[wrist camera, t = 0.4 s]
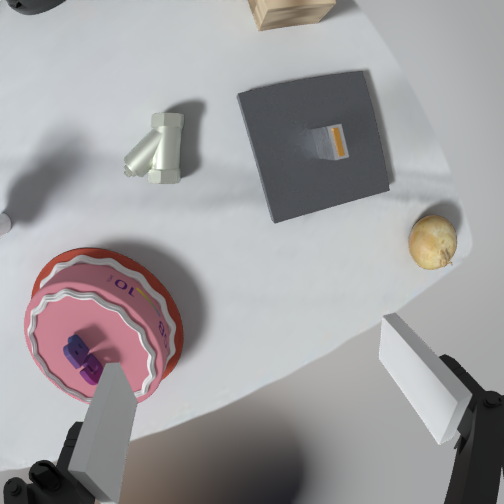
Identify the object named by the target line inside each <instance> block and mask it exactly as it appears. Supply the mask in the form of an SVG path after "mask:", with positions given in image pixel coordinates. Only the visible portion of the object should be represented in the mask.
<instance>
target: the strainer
mask: <svg viewBox="0 0 504 504" xmlns="http://www.w3.org/2000/svg"><path fill="white" fill-rule="evenodd" d="M10 229H11V221H10V218H9V217H8V216H7V215H6V214H4V213H2V214H0V237H1V236H2V235H4V234H6V233H8V232H9V231H10Z"/></svg>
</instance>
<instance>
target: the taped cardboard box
mask: <svg viewBox="0 0 504 504" xmlns="http://www.w3.org/2000/svg"><path fill="white" fill-rule="evenodd" d="M248 2H249V5H250V8H251V11H252V14H253V16H254V19H255V22H256V25H257V28H258V31H263V30H269V29H275V28H282V27H289V26H297V25H305V24H315V23H318V22H319V21H320V20H321V19H322V18H323V17H324V16H325V15H326V14H327V13H328V12H329V10H330V9H331V8H332V7H333V6H334V5H335V4H336V1H335V0H248Z"/></svg>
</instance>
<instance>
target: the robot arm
mask: <svg viewBox="0 0 504 504" xmlns="http://www.w3.org/2000/svg"><path fill="white" fill-rule="evenodd" d="M6 1H7V3H8V5H9V6H10V7H11V8H12V9H14V10H16V11H17V12H19V13H21V14H24V15H35V14H39V13H42V12H45V11H47V10H50V9H52V8H54V7H55V6H57V5H59V4H60V3H62V2H63V1H65V0H6ZM379 360H380V361H381V362H382V364H383V365H384V367H385V368H386V369H387V371H388V372H389V374H390V375H391V376H392V378H393V379H394V381H395V382H396V383H397V385H398V386H399V388H400V389H401V390H402V392H403V393H404V395H405V396H406V398H407V399H408V400H409V402H410V403H411V405H412V406H413V408H414V409H415V410H416V412H417V413H418V415H419V416H420V418H421V419H422V421H423V422H424V424H425V425H426V427H427V428H428V429H429V431H430V432H431V434H432V435H433V437H434V438H435V440H436V441H437V443H438V444H439V445H440V444H442V443H443V442H446V441H448V440H450V439H451V438H453V436H454V435H455V433H456V430H458V431H459V432H460V434H461V435H460V437H459V439H458V441H457V443H456V445H455V447H454V449H456V448H457V452H456V457H455V462H454V467H453V471H452V475H451V479H450V483H449V487H448V491H447V494H446V498H445V502H444V504H496V502H497V496H498V490H499V484H500V476H501V468H502V469H503V477H504V395H502V396H501V395H500V394H499V393H497V392H494V391H485V390H484V389H483V388H482V387H481V386H480V385H479V384H478V383H477V382H476V381H475V380H474V379H473V378H472V377H471V375H470V374H469V373H468V372H466V370H465V369H464V368H463V367H461V365H460V364H459V363H458V362H457V361H456V360H455V359H454V358H452V357H450V356H448V355H445V354H444V355H442V356H440V357H438V356H437V355H436V354H435V353H434V352H433V351H432V350H431V349H430V348H429V347H428V346H427V345H426V343H425V342H424V341H423V340H422V339H421V338H420V337H419V336H418V335H417V334H416V333H415V332H414V331H413V330H412V329H411V328H410V327H409V326H408V325H407V324H406V323H405V322H404V321H403V320H402V319H401V318H400V317H399V316H398V315H397V314H396V313H392V314H388V315H384V316H382V328H381V339H380V349H379ZM137 403H138V401H137V399H136V397H135V395H134V393H133V390H132V388H131V386H130V384H129V382H128V380H127V378H126V376H125V373H124V371H123V369H122V367H121V365H120V362H118V363H106V365H105V367H104V370H103V372H102V375H101V377H100V380H99V382H98V385H97V387H96V390H95V392H94V395H93V398H92V400H91V403H90V406H89V408H88V411H87V414H86V416H85V419H84V422H75V423H74V424H73V426H72V427H71V428H70V429H69V431H68V434H67V437H66V440H65V442H64V447H63V448H62V451H61V453H60V456H59V459H58V462H57V465H56V467H55V465H54V464H53V463H52V462H50V461H48V460H41V461H38V462H36V463H35V464H33V465H32V467H31V468H30V471H29V479H30V480H31V481H32V482H33V483H31V484H26V483H25V482H24V481H23V480H22V479H20V478H18V477H14V478H11V479H9V480H8V481H7V482H6V484H5V486H4V491H3V493H4V504H94V502H95V498H96V499H97V500H98V501H99V502H100V503H101V504H118V503H119V496H120V490H121V484H122V478H123V472H124V466H125V461H126V456H127V451H128V446H129V441H130V436H131V431H132V426H133V421H134V417H135V412H136V407H137ZM457 446H458V447H457Z"/></svg>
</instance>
